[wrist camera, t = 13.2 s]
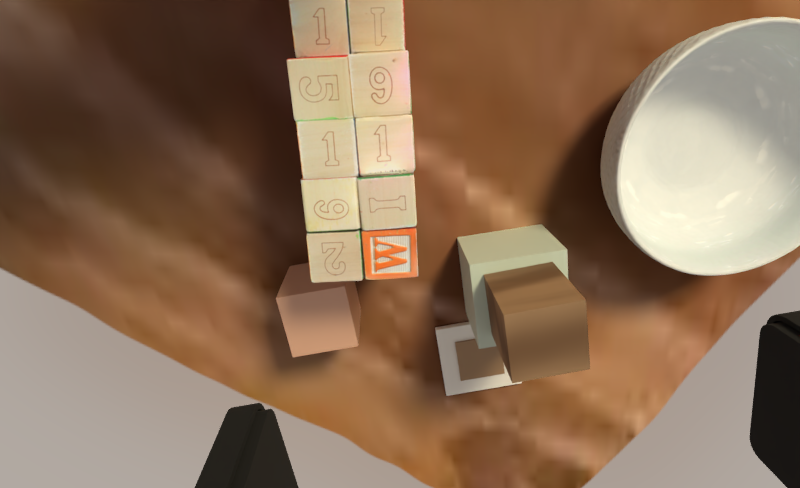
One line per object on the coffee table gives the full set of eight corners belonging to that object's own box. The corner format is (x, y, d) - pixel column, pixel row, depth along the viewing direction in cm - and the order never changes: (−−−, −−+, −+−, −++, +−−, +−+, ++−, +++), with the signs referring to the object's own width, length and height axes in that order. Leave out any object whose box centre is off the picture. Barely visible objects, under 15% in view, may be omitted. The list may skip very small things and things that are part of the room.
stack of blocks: (300, -91, 32) (257, -176, 21) (396, -94, 32) (406, -180, 21) (328, 221, 40) (309, 286, 28) (406, 217, 40) (418, 280, 28)
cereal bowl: (659, -19, 35) (726, -39, 28) (835, 86, 38) (933, 91, 31) (536, 195, 40) (569, 222, 33) (700, 273, 43) (760, 311, 36)
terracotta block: (289, 265, 41) (275, 298, 35) (349, 255, 41) (344, 286, 35) (304, 318, 42) (292, 357, 37) (361, 308, 42) (358, 346, 37)
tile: (434, 327, 43) (435, 331, 43) (513, 313, 43) (515, 317, 42) (445, 392, 46) (446, 397, 45) (520, 379, 46) (522, 384, 45)
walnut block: (483, 274, 35) (503, 315, 30) (552, 261, 35) (585, 299, 30) (491, 334, 37) (512, 383, 31) (557, 322, 37) (590, 369, 31)
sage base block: (456, 236, 41) (469, 264, 35) (540, 223, 41) (567, 249, 35) (465, 311, 43) (479, 348, 37) (545, 299, 43) (570, 334, 37)
